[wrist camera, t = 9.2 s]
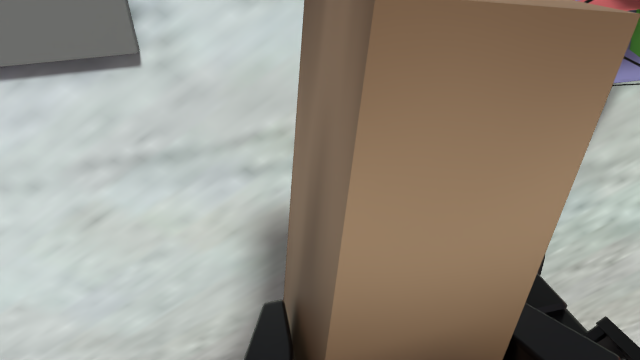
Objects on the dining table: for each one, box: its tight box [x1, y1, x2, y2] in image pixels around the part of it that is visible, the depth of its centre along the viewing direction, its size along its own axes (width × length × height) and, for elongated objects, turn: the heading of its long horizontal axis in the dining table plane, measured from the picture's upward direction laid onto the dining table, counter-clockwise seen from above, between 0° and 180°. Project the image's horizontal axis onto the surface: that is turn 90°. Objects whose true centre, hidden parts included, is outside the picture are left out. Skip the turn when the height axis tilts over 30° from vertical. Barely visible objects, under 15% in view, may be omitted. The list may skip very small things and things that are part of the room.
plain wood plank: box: [283, 0, 640, 360], centre depth 9 cm, size 12×3×4 cm, turn 175°
